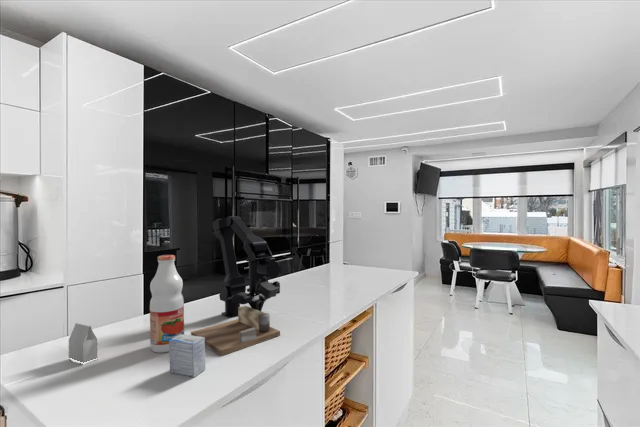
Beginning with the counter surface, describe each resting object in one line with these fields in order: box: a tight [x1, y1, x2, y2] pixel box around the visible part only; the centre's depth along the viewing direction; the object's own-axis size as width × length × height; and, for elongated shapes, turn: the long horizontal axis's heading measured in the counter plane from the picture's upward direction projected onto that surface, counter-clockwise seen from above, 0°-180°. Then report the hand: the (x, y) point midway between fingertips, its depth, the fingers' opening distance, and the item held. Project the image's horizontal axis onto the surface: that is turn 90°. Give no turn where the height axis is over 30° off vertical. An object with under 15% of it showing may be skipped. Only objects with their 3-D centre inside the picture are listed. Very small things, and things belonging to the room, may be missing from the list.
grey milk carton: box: [68, 322, 98, 363], centre depth 90 cm, size 4×7×10 cm, turn 65°
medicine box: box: [168, 333, 206, 378], centre depth 83 cm, size 8×4×9 cm, turn 71°
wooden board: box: [190, 318, 281, 357], centre depth 107 cm, size 21×21×4 cm
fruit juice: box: [149, 254, 185, 354], centre depth 99 cm, size 9×9×28 cm
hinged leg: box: [237, 305, 271, 332], centre depth 111 cm, size 16×4×5 cm, turn 45°
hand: (257, 317), depth 117 cm, fingers closed
